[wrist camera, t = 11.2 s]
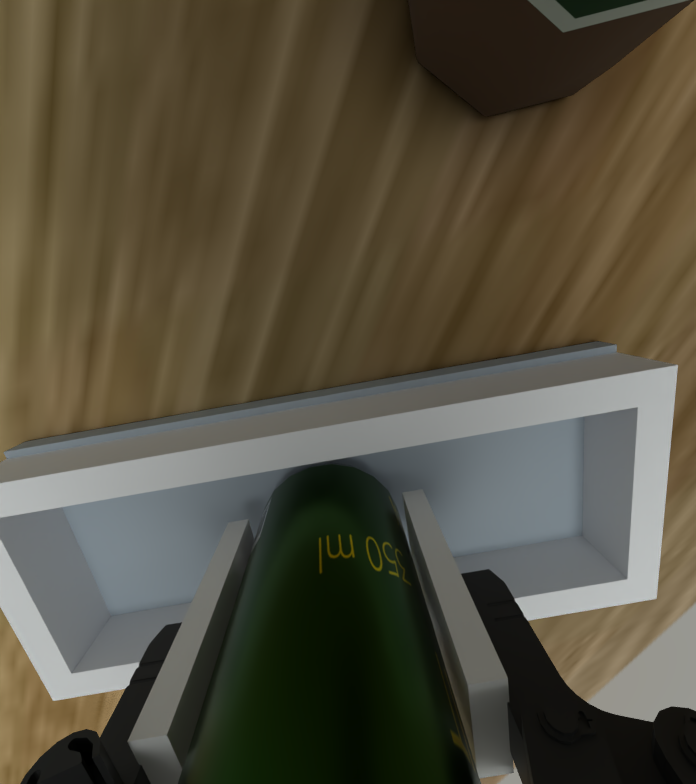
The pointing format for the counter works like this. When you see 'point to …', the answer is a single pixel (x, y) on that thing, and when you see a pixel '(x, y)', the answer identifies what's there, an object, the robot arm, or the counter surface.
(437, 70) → the beer bottle
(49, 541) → the tray
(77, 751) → the robot arm
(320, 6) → the counter surface
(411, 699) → the beer can
